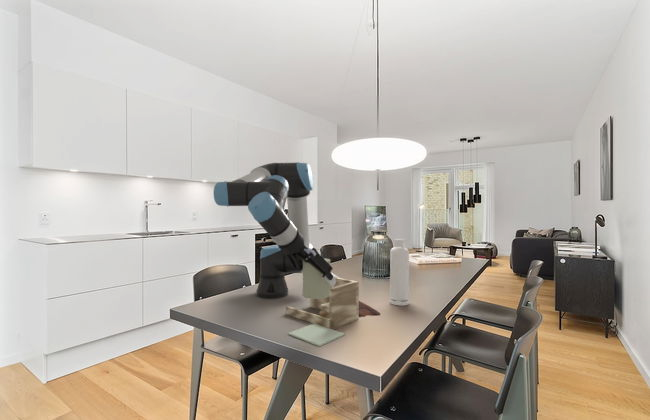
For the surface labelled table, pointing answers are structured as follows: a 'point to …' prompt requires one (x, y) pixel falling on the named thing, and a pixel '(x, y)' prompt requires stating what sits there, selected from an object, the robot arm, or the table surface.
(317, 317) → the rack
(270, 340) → the table surface
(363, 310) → the wooden tablet
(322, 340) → the mat
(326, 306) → the offcut stack
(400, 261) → the bottle
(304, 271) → the can
